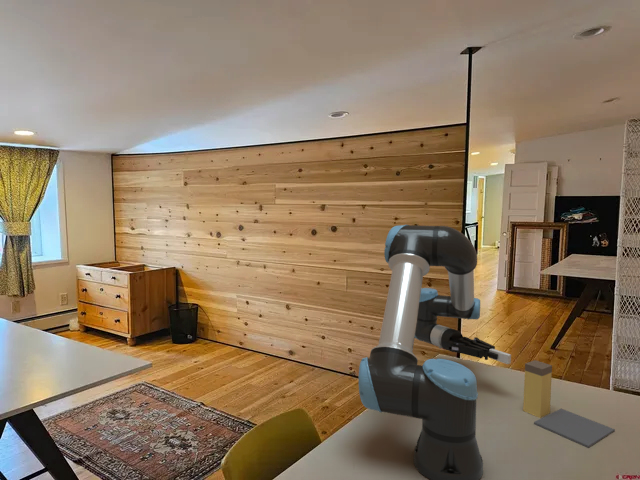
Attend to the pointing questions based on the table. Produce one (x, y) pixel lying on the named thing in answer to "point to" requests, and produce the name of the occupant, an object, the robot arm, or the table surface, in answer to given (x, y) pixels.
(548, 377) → the ochre post
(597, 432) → the charcoal mat
